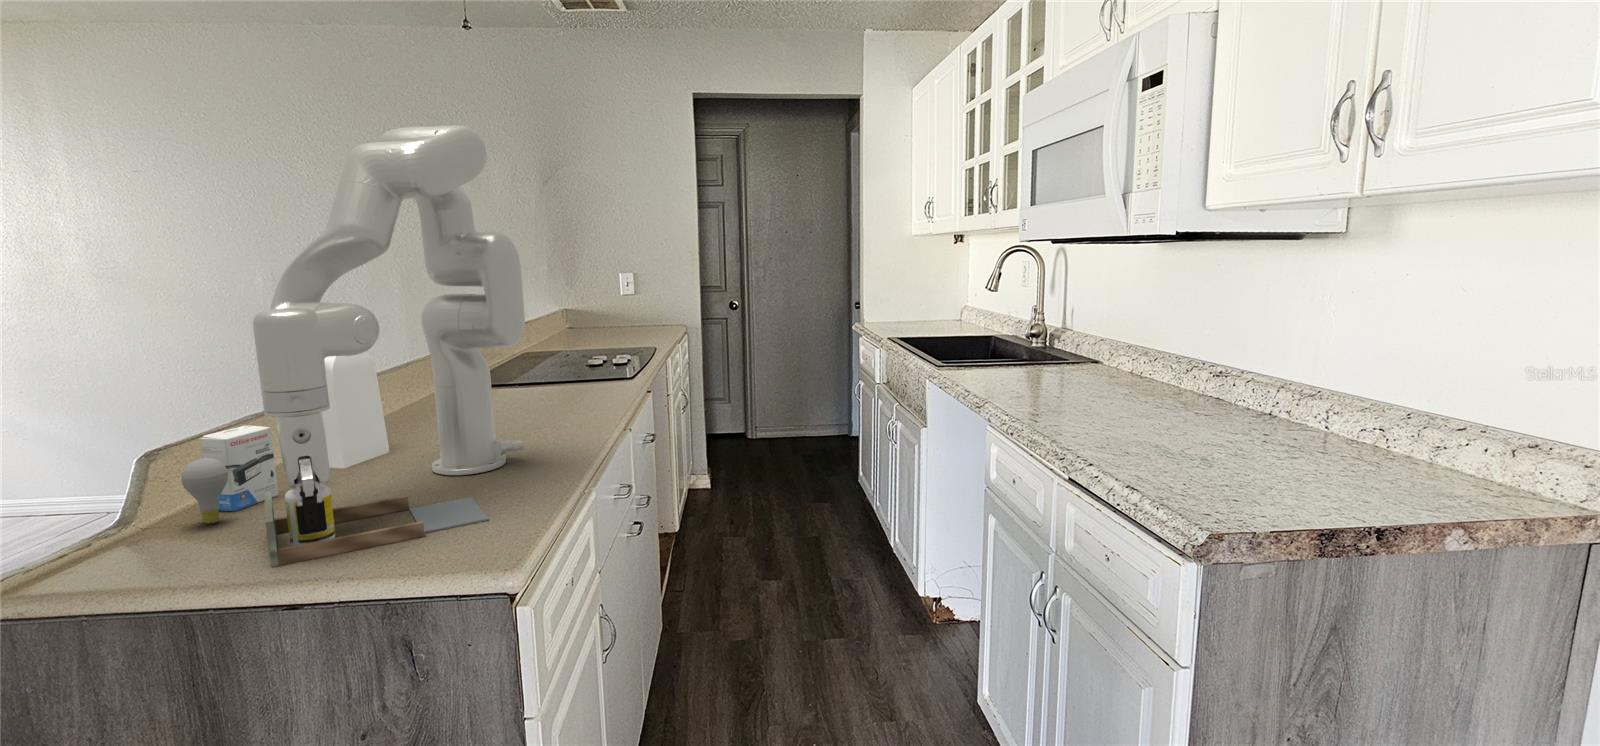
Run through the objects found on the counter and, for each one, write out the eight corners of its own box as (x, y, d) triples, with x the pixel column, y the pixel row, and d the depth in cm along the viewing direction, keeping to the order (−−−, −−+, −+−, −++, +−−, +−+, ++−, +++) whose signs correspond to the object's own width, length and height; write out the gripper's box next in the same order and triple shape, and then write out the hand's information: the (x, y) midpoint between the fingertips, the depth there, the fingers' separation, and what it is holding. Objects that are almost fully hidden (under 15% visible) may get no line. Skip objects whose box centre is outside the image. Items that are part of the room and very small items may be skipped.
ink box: (234, 512, 121) (224, 438, 119) (207, 510, 122) (197, 437, 120) (280, 495, 130) (271, 425, 128) (255, 493, 131) (246, 424, 129)
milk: (389, 452, 156) (376, 321, 151) (344, 468, 145) (328, 327, 140) (338, 449, 158) (324, 320, 154) (290, 465, 147) (272, 326, 143)
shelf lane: (408, 508, 122) (404, 470, 121) (424, 536, 110) (420, 495, 109) (269, 533, 112) (264, 492, 111) (271, 567, 100) (265, 522, 99)
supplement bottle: (345, 536, 111) (337, 469, 109) (310, 550, 106) (301, 480, 104) (316, 532, 113) (308, 466, 111) (280, 546, 108) (272, 477, 106)
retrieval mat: (471, 499, 126) (470, 497, 126) (489, 520, 117) (489, 518, 117) (409, 510, 121) (409, 508, 121) (423, 533, 112) (422, 531, 112)
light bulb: (205, 532, 113) (195, 465, 111) (179, 528, 115) (169, 461, 113) (243, 519, 118) (234, 455, 116) (218, 515, 120) (209, 452, 118)
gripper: (333, 407, 101) (348, 534, 104) (324, 388, 115) (337, 500, 118) (263, 415, 97) (280, 547, 100) (262, 394, 111) (277, 510, 114)
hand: (311, 521), depth 109 cm, fingers open, 9 cm apart
